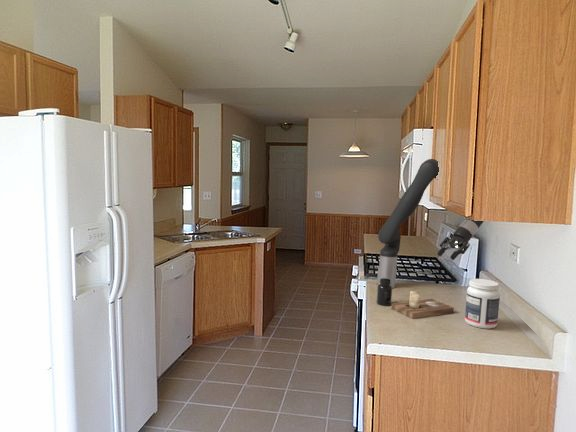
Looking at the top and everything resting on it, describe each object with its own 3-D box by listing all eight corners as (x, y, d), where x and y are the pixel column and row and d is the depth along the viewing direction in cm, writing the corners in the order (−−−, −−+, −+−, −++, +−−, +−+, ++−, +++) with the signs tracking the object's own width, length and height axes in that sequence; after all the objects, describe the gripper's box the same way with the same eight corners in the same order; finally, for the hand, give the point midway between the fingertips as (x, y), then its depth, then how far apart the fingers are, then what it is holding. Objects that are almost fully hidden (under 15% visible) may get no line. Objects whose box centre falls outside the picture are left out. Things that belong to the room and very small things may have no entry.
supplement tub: (493, 321, 187) (497, 279, 185) (500, 331, 175) (504, 287, 173) (462, 317, 190) (465, 276, 188) (466, 327, 178) (470, 284, 176)
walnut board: (391, 308, 199) (391, 303, 198) (431, 303, 209) (431, 298, 208) (412, 318, 186) (412, 312, 186) (453, 312, 196) (453, 307, 196)
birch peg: (406, 310, 196) (407, 291, 195) (414, 309, 198) (415, 290, 197) (413, 314, 192) (414, 294, 191) (420, 312, 194) (422, 293, 193)
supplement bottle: (373, 302, 207) (375, 278, 206) (385, 301, 210) (386, 277, 208) (382, 306, 201) (383, 281, 199) (394, 305, 204) (395, 280, 202)
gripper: (450, 224, 208) (430, 249, 205) (473, 227, 194) (451, 254, 191) (458, 234, 210) (438, 259, 207) (481, 239, 197) (460, 265, 194)
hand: (445, 257), depth 199 cm, fingers open, 8 cm apart
